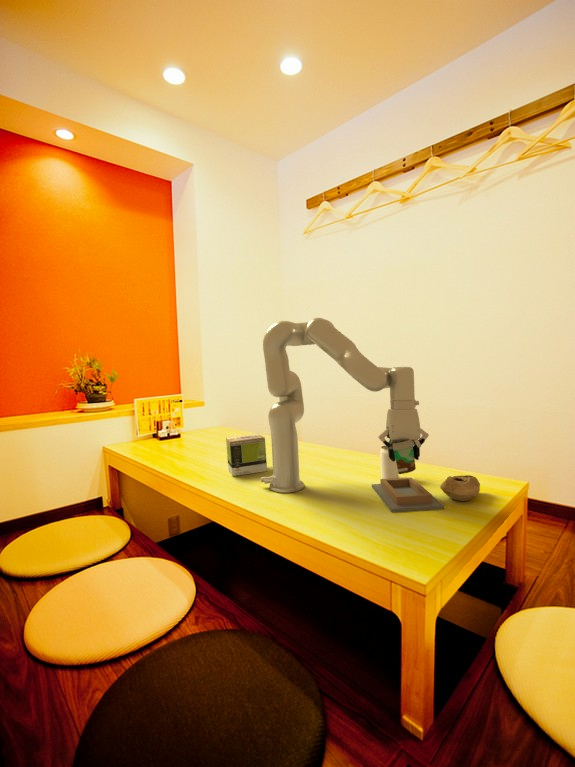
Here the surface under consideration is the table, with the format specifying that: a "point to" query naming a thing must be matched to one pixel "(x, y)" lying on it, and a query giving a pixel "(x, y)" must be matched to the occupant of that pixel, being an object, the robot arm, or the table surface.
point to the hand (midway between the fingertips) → (404, 459)
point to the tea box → (246, 454)
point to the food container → (404, 456)
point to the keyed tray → (405, 495)
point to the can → (387, 465)
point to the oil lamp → (461, 487)
